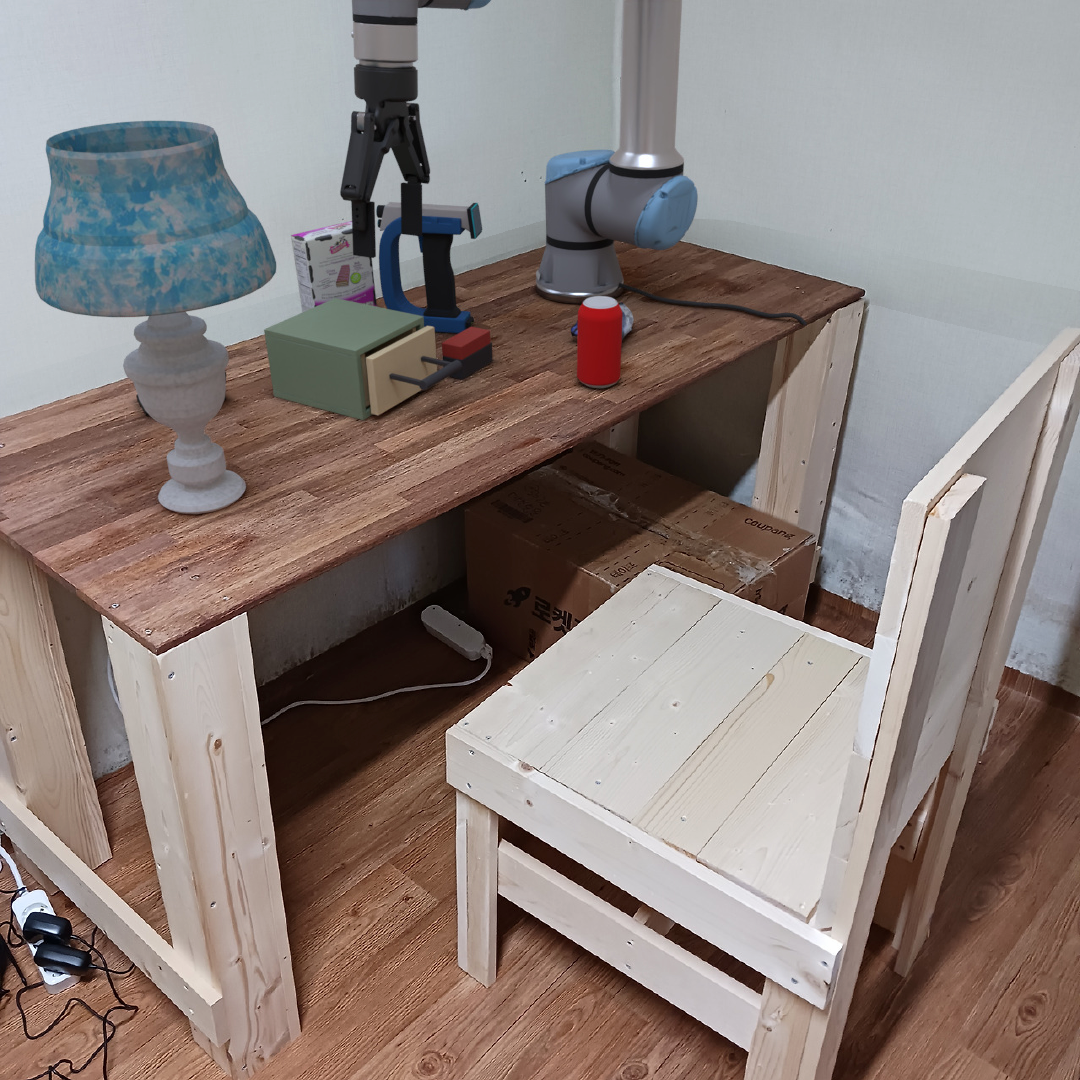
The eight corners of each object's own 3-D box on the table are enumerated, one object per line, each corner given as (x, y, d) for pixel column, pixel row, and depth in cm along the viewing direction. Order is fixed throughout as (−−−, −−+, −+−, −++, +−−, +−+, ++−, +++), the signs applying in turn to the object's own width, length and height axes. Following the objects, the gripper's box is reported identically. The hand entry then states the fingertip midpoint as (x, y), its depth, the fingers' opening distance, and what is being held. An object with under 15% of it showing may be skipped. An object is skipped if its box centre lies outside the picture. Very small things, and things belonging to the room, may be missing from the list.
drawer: (475, 389, 148) (472, 334, 144) (416, 425, 138) (412, 368, 134) (356, 361, 157) (351, 309, 153) (294, 393, 147) (286, 339, 143)
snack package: (662, 341, 166) (618, 317, 174) (660, 303, 162) (614, 281, 170) (600, 369, 162) (557, 344, 170) (595, 331, 158) (552, 307, 166)
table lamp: (214, 433, 139) (153, 105, 118) (349, 482, 127) (308, 128, 106) (51, 509, 122) (-53, 143, 101) (189, 573, 111) (103, 174, 90)
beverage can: (627, 379, 153) (630, 298, 147) (608, 394, 148) (610, 311, 142) (589, 371, 156) (590, 291, 149) (569, 386, 151) (569, 304, 145)
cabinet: (428, 382, 153) (423, 316, 148) (362, 420, 142) (355, 350, 137) (342, 361, 160) (335, 297, 155) (273, 396, 149) (263, 329, 144)
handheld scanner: (479, 335, 168) (475, 208, 158) (382, 329, 171) (372, 204, 161) (486, 326, 172) (483, 201, 162) (391, 320, 175) (382, 197, 165)
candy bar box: (363, 320, 175) (352, 219, 166) (380, 328, 171) (370, 225, 163) (303, 337, 168) (289, 233, 160) (319, 346, 165) (306, 239, 156)
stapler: (473, 357, 161) (472, 325, 158) (492, 361, 159) (491, 329, 157) (443, 375, 155) (441, 342, 152) (462, 379, 153) (461, 346, 151)
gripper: (402, 55, 138) (404, 223, 148) (303, 67, 117) (313, 262, 127) (456, 60, 136) (454, 229, 146) (365, 72, 115) (371, 270, 125)
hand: (389, 245), depth 136 cm, fingers open, 13 cm apart
